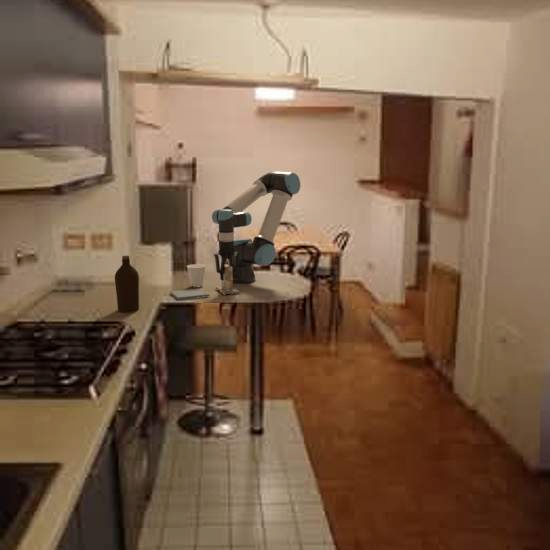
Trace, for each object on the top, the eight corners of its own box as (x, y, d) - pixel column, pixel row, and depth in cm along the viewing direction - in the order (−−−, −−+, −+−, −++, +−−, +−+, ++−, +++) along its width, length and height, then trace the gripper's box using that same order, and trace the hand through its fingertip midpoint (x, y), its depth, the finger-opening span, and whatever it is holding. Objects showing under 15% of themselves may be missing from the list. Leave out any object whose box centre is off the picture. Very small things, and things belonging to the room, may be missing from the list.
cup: (207, 284, 333) (207, 264, 330) (203, 288, 323) (203, 268, 321) (189, 284, 334) (189, 264, 331) (185, 288, 324) (184, 267, 322)
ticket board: (201, 290, 318) (200, 287, 318) (209, 297, 306) (209, 293, 305) (170, 294, 312) (170, 290, 311) (177, 300, 299) (177, 297, 299)
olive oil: (137, 313, 277) (134, 258, 272) (113, 313, 277) (110, 258, 272) (142, 307, 287) (140, 254, 282) (120, 306, 288) (117, 253, 282)
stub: (230, 287, 324) (229, 262, 322) (239, 293, 312) (239, 267, 309) (215, 289, 321) (215, 264, 318) (224, 295, 309) (223, 269, 306)
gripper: (238, 238, 317) (239, 283, 322) (208, 240, 311) (209, 285, 316) (244, 240, 311) (244, 286, 316) (213, 242, 304) (214, 289, 309)
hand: (227, 285), depth 316 cm, fingers closed on stub, 3 cm apart
